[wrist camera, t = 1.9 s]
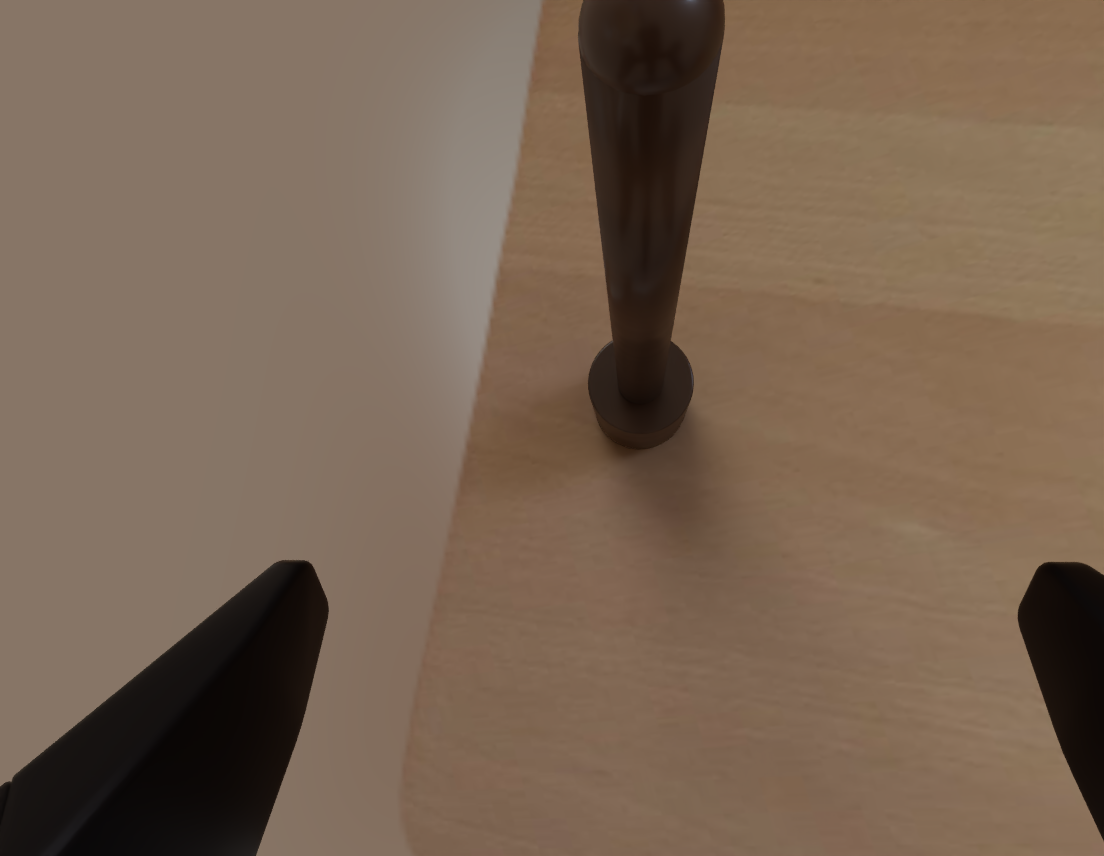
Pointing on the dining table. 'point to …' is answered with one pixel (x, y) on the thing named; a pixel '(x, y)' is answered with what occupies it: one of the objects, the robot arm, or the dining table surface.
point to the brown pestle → (646, 195)
